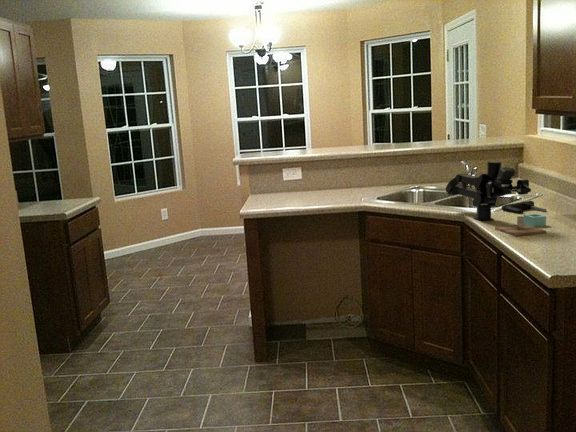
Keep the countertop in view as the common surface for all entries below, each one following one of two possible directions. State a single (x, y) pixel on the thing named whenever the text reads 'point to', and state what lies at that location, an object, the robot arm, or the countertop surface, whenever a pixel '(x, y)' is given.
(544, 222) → the collar
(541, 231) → the post plate
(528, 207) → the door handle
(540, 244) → the countertop surface
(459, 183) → the robot arm
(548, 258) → the countertop surface
